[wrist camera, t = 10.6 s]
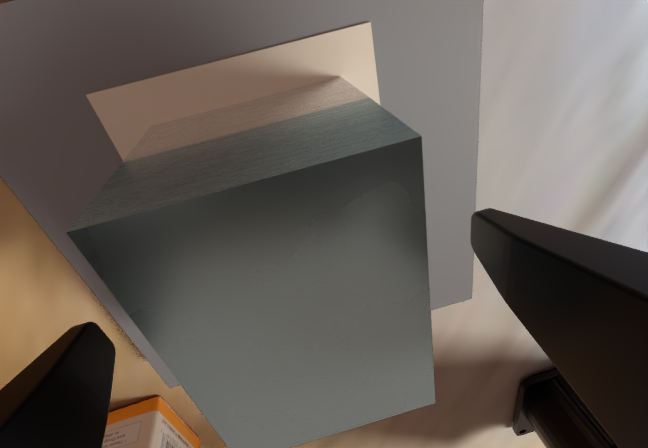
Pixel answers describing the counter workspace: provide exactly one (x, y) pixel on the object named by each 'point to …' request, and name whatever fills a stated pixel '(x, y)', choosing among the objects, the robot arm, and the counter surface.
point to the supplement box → (148, 427)
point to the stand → (231, 98)
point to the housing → (276, 261)
